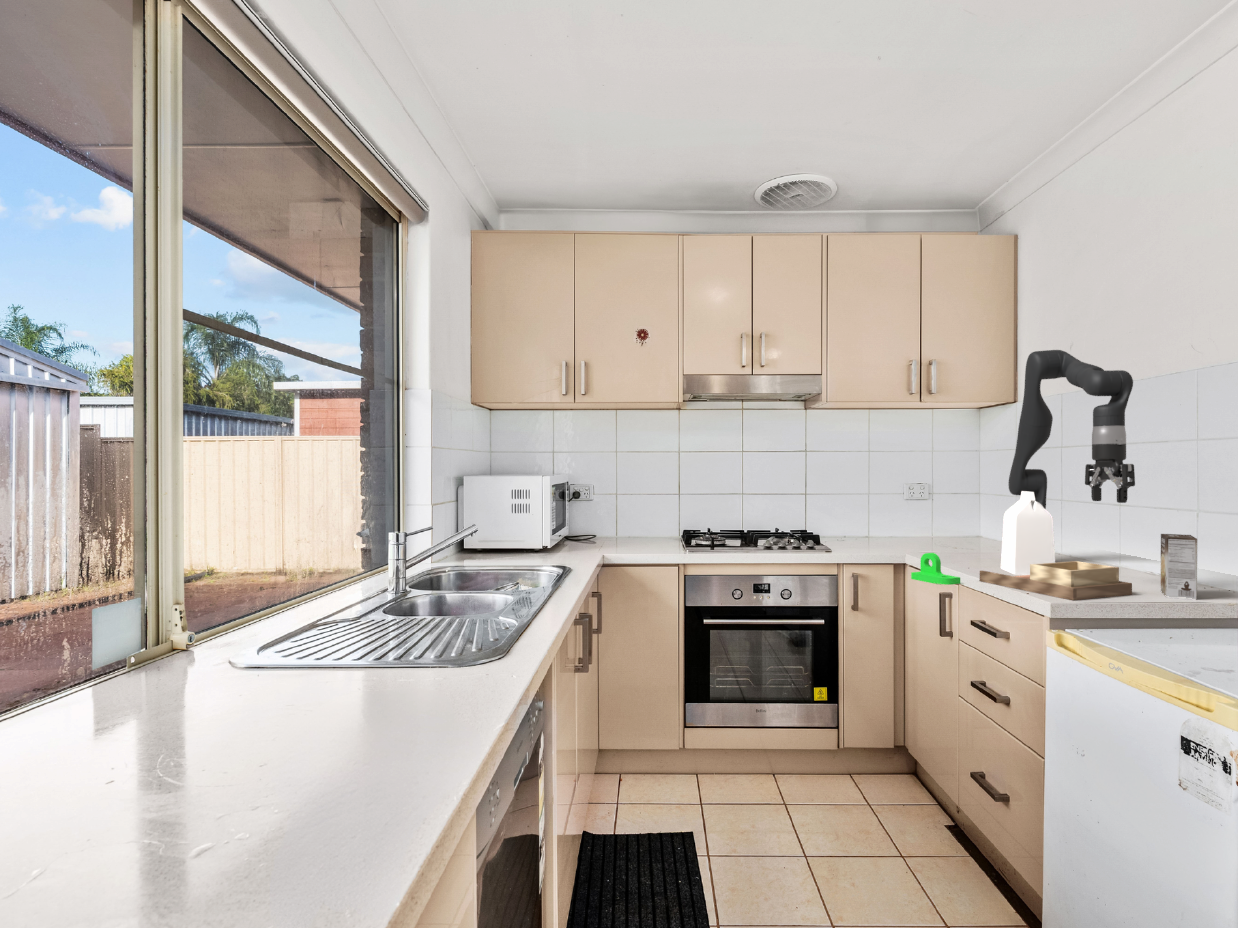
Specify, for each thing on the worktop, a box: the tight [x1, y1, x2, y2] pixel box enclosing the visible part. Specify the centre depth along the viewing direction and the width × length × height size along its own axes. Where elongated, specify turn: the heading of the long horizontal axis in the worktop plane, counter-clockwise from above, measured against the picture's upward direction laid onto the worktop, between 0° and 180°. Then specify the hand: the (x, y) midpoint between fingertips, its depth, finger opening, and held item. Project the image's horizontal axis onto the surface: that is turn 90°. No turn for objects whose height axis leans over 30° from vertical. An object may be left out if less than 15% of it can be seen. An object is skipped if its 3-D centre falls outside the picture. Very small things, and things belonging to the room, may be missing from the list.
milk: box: [1000, 491, 1056, 576], centre depth 206 cm, size 12×12×26 cm
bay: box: [979, 570, 1133, 601], centre depth 181 cm, size 28×22×3 cm
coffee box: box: [1160, 533, 1198, 600], centre depth 170 cm, size 9×6×16 cm
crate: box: [1030, 560, 1120, 587], centre depth 175 cm, size 12×18×6 cm, turn 109°
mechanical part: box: [910, 552, 961, 586], centre depth 191 cm, size 12×6×8 cm, turn 25°
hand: (1109, 501), depth 176 cm, fingers open, 8 cm apart
